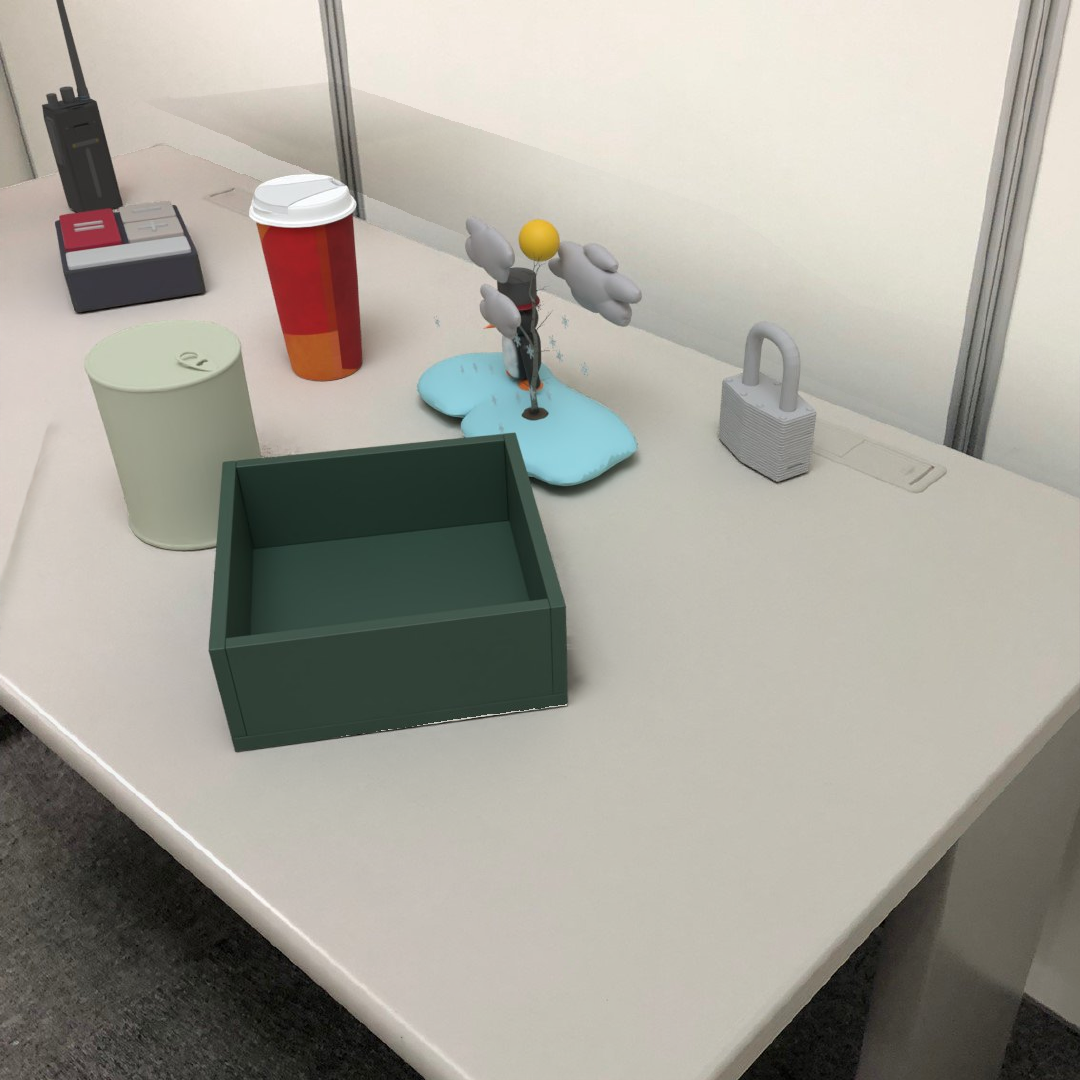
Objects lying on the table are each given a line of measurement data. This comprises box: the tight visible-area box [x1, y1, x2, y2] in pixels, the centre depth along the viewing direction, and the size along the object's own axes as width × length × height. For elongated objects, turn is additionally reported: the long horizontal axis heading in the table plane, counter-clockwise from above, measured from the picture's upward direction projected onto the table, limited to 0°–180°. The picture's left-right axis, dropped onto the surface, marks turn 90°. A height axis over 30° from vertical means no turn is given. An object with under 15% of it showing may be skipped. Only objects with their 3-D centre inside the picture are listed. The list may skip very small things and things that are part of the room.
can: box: [84, 319, 263, 551], centre depth 77 cm, size 9×9×12 cm
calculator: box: [54, 200, 206, 313], centre depth 109 cm, size 11×4×15 cm
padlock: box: [717, 320, 817, 483], centre depth 83 cm, size 7×4×10 cm, turn 31°
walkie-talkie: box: [41, 0, 123, 213], centre depth 117 cm, size 5×3×20 cm
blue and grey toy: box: [416, 216, 643, 487], centre depth 84 cm, size 20×11×15 cm, turn 32°
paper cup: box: [248, 173, 363, 382], centre depth 92 cm, size 8×8×14 cm
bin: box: [207, 433, 569, 753], centre depth 69 cm, size 18×18×7 cm
